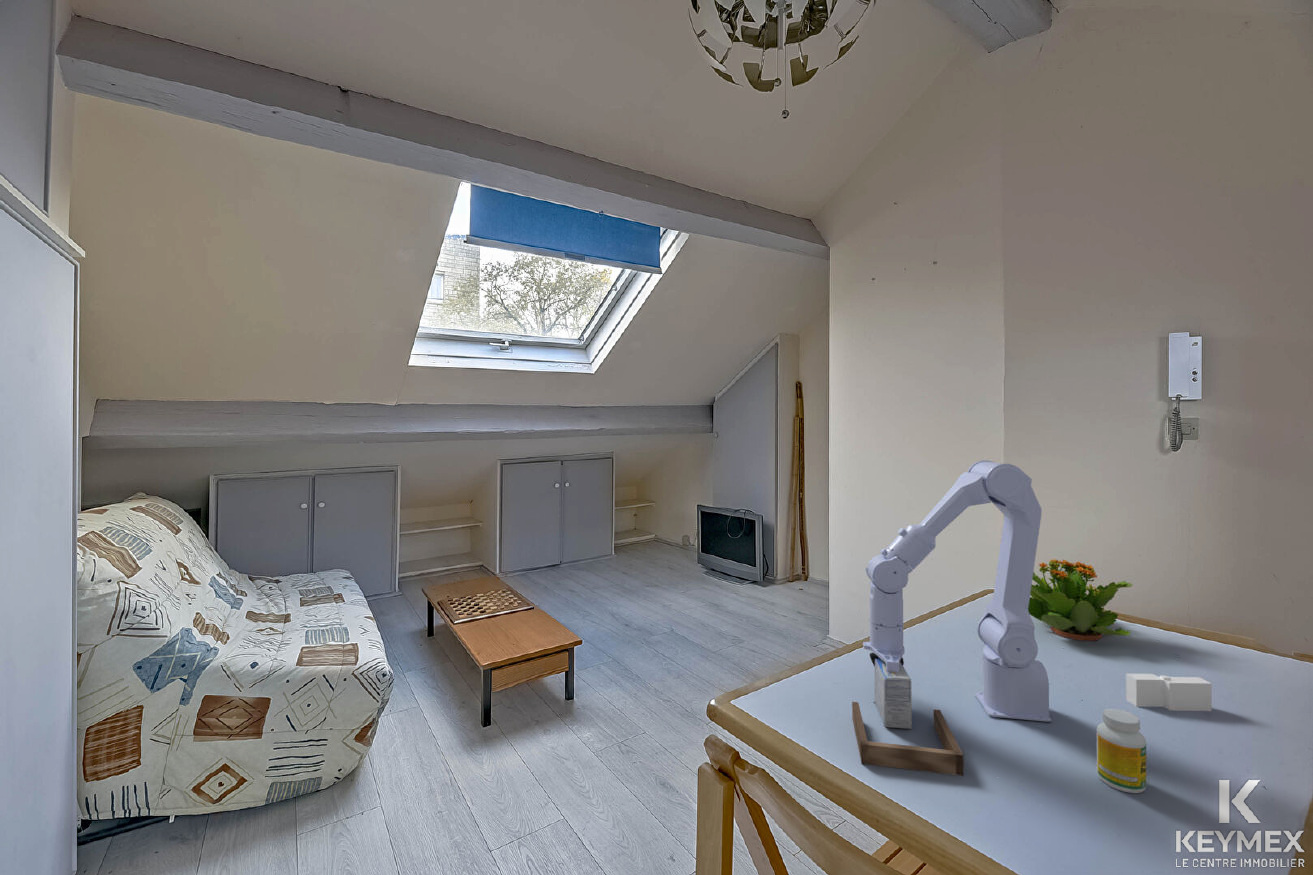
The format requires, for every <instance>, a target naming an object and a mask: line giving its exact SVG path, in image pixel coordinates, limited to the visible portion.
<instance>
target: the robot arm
mask: <svg viewBox="0 0 1313 875" xmlns="http://www.w3.org/2000/svg"><path fill="white" fill-rule="evenodd" d="M1032 481H1033V480H1032V478H1031V477H1030V476H1029V475H1028V474H1027V473H1025V472H1024V471H1023V470H1022V469H1021V468H1020V467H1019V466H1016V465H1014V464H1011V463H999V462H994V461H991V460H984V459H983V460H979V461H975V462H974V463H973V464H972V465H971V466H969V468H968V470H967V471H965V472H964V471H963V473H961V474H960V475H959V477H958V478H957V479H956V481H955V482H954V484H953V485H952V486H951V487H950V489H948V491H947V492H946V493H945V494H944V495H943V497H942V498H941V499H940V500H939V501H938V503H937V504H936V505H935V506H934V507H933V508H932V509H931V510H930V511H929V513H928V514H927V515H926V516H925V517H924V518H923V520H921V522H920V523H918V524H909V525H908V524H907V526H906V527H905V528H903V527H900V528H899V530H898V531H897V534H898V536H897V537H896V538H895V539H894V540H893V541H892V542H891V543H890V544H889V545H888V546H887V547H886V548H884V547H883V548H882V549H881V550H879V552H880V554H879V555H874V556H873V557H872V558H871V559H870V560H869V562H868V563H867V567H865V572H866V575H867V577H868V578H869V579H870V584H869V585H870V587H869V589H870V590H869V591H870V593H869V641H863V642H862V646H863V649H865V650H870V652H871V653H869V658H870V660H871V662H872V665H873V667H874V668H875V659H876V658H881V659H882V660H883V661H884V662H885V663H886V670H887V671H890V672H891V671H892V672H899V662H901V664H902V665H903V666H904V664H905V662H904V658H903V656H904V654H905V646H904V598H903V595H904V594H903V589H904V588H906V587H907V585H908V581H909V574H910V573H912V572H913V571H914V570H915V569H916V568H917V567H918V566H919V565H920V564H921V562H923V561H924V560H925V558H927V557H928V556H929V554H931V552H933V550H935V548H936V537H937V536H938V535H939V534H940V533H941V532H943V530H945V529H946V528H947V527H948V526H949V525H950V524H951V523H952V522H954V520H956V519H957V518H958V517H959V516H960V515H961V514H962V513H963V512H965V510H967V509H968V508H969V507H971V506H979V505H984V504H991V503H992V504H993V505H994V506H995V507H996V508H997V509H998V510H999V511H1000V512H1001V513H1002V514H1003V516H1004V517H1003V525H1002V531H1001V532H1002V533H1001V540H1000V547H999V552H998V560H997V567H996V576H995V581H994V590H993V597H992V600H991V601H990V602H989V603H988V604H986V606H985V609H984V613H983V615H982V617H981V619H979V621H978V623H977V628H976V633H977V635H978V637H979V639H980V640H981V641H982V642H983V644H984V645H983V646H984V647H983V650H982V692H975V697H976V698H977V700H978V701H979V703H980V704H981V706H982V707H983V709H984V710H985V712H986V714H987V715H988V716H989V717H992V718H995V717H996V718H1003V719H1005V718H1006V719H1016V720H1025V721H1037V722H1048V723H1050V722H1052V719H1051V717H1050V684H1049V677H1048V672H1047V669H1046V667H1045V666H1044V664H1043V663H1042V661H1040V660H1037V659H1036V658H1037V657H1038V652H1039V648H1038V643H1037V641H1036V638H1035V629H1036V626H1035V624H1034V621H1033V619H1032V615H1030V614H1029V611H1028V606H1029V599H1030V597H1031V595H1030V592H1031V585H1033V580H1032V578H1033V571H1034V569H1035V562H1036V556H1037V550H1038V549H1037V548H1038V542H1039V534H1040V528H1041V522H1042V521H1041V519H1042V507H1041V505H1040V502H1039V500H1038V498H1037V496H1036V494H1035V492H1034V489H1033V487H1032ZM1034 572H1035V571H1034Z"/></svg>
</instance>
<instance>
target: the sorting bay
mask: <svg viewBox="0 0 1313 875" xmlns="http://www.w3.org/2000/svg"><path fill="white" fill-rule="evenodd" d="M851 702H852V703H851V706H852V707H851V709H852V711H851V712H852V717H851V718H852V723H853V727H854V734H855V737H856V743H857V748H858V752H859V758H860V761H861V762H860V763H861V764H862V765H868V766H869V765H871V766H879V767H886V768H887V767H888V768H894V769H904V770H910V771H911V770H912V771H921V772H928V773H937V774H944V775H945V774H947V775H953V776H954V775H955V776H962V777H964V776H965V775H964V754H963V751H962V750H961V747H960V746H959V744H958V742H957V740H956V738H955V736H954V735H953V733H952V730H951V729H950V726H949V725H948V723H947V721H946V719H945V717H944V715H943V713H942V710H941V709H937V708H935V709H933V728H934V730H935V733H936V735H937V738H939V741H940V743H941V745H942V748H943V749H940V748H934V747H923V746H913V745H905V744H896V743H888V742H878V741H871V740H870V741H869V740H868V738H867V733H866V729H865V725H864V721H863V716H862V712H861V708H860V707H861V706H860V704H859V702H858V701H851Z"/></svg>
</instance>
